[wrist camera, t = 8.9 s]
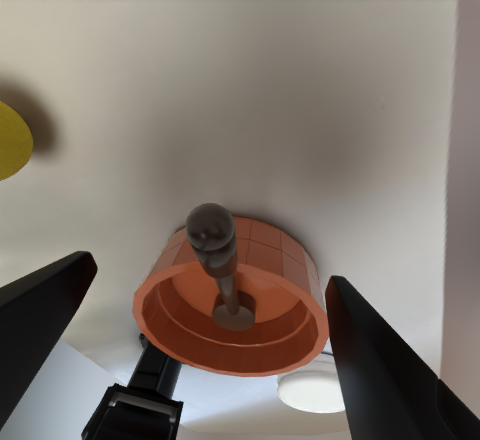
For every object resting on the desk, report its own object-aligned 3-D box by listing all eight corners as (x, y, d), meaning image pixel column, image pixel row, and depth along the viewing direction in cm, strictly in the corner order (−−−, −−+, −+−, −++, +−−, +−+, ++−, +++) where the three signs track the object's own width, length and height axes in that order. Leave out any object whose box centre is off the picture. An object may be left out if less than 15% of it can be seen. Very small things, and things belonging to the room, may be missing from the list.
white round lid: (263, 358, 32) (263, 388, 29) (333, 344, 28) (341, 376, 25) (296, 388, 36) (299, 417, 33) (361, 379, 32) (371, 411, 29)
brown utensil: (255, 318, 25) (247, 430, 17) (216, 313, 26) (191, 422, 18) (271, 144, 15) (273, 226, 7) (205, 141, 15) (135, 215, 7)
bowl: (300, 329, 27) (307, 386, 22) (173, 314, 28) (153, 365, 23) (333, 220, 18) (356, 274, 13) (147, 206, 19) (106, 251, 15)
